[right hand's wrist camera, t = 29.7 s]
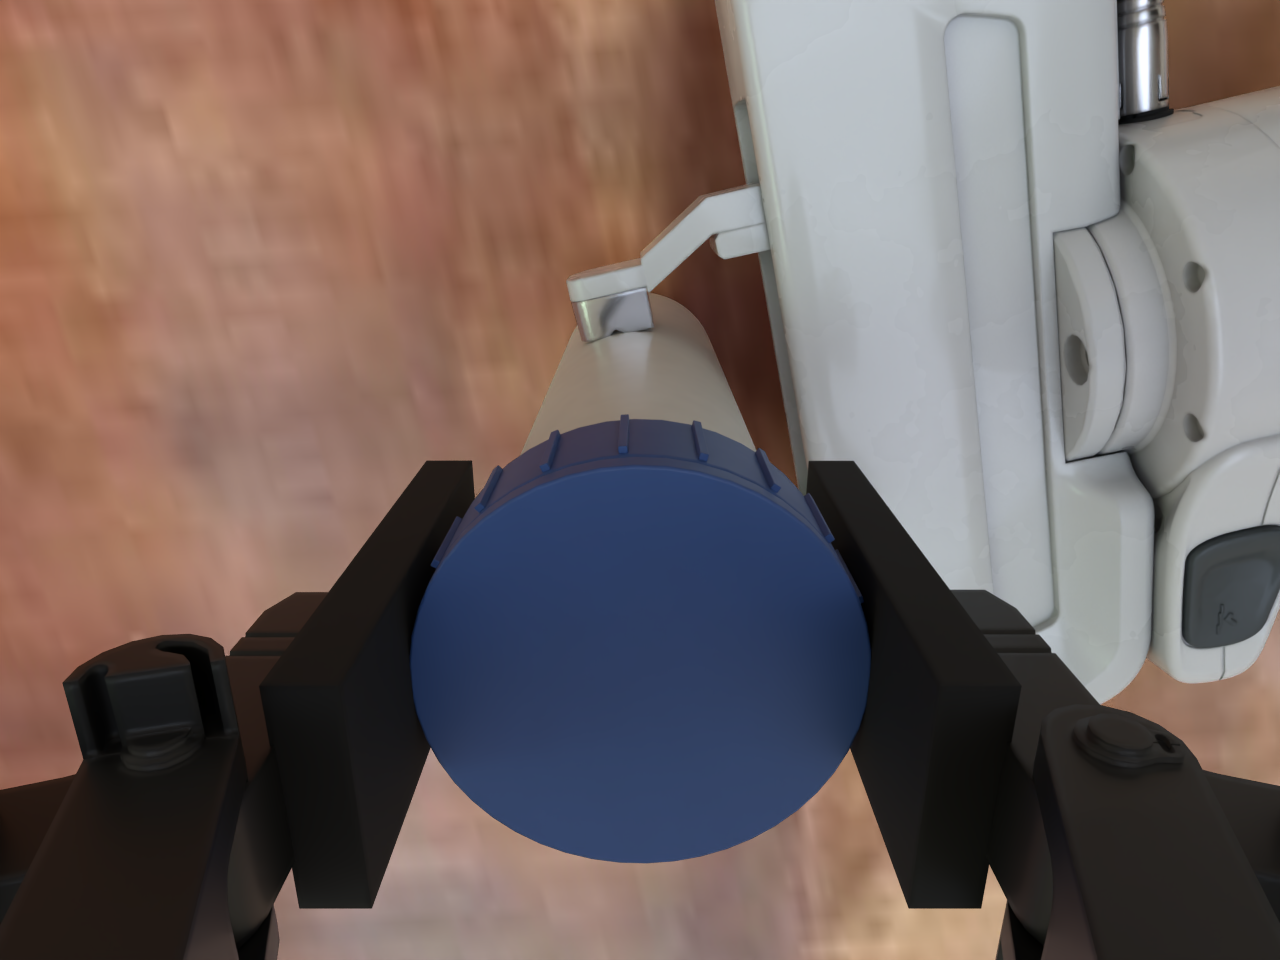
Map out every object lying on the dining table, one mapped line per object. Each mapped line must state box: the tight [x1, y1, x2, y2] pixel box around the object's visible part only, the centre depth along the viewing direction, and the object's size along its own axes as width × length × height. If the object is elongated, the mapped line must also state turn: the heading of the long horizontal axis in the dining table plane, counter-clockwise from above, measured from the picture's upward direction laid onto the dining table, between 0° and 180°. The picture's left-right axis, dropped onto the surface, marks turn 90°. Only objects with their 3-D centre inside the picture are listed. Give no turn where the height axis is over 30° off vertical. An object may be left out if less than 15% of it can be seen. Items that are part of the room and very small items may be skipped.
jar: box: [521, 293, 756, 455], centre depth 19 cm, size 5×5×17 cm
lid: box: [410, 414, 871, 863], centre depth 11 cm, size 6×6×2 cm
